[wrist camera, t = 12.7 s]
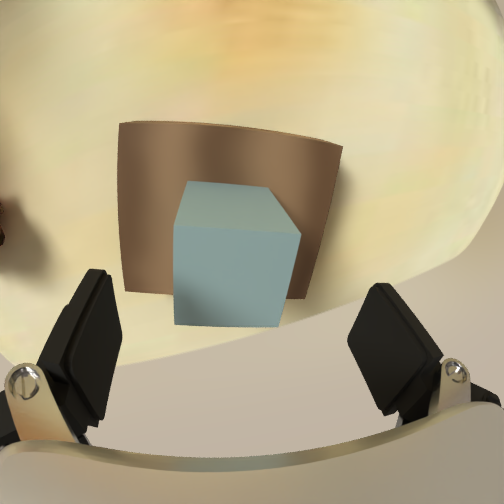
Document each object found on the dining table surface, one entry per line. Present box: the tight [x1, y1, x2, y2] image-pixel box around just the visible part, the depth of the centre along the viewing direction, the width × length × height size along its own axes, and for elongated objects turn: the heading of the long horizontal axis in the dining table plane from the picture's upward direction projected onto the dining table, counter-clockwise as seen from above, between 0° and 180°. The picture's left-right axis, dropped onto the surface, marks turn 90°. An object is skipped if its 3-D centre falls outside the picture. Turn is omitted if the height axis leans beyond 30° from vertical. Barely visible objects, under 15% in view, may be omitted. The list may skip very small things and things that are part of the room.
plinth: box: [117, 121, 343, 299], centre depth 20 cm, size 14×12×4 cm
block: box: [173, 181, 301, 327], centre depth 15 cm, size 5×5×7 cm
